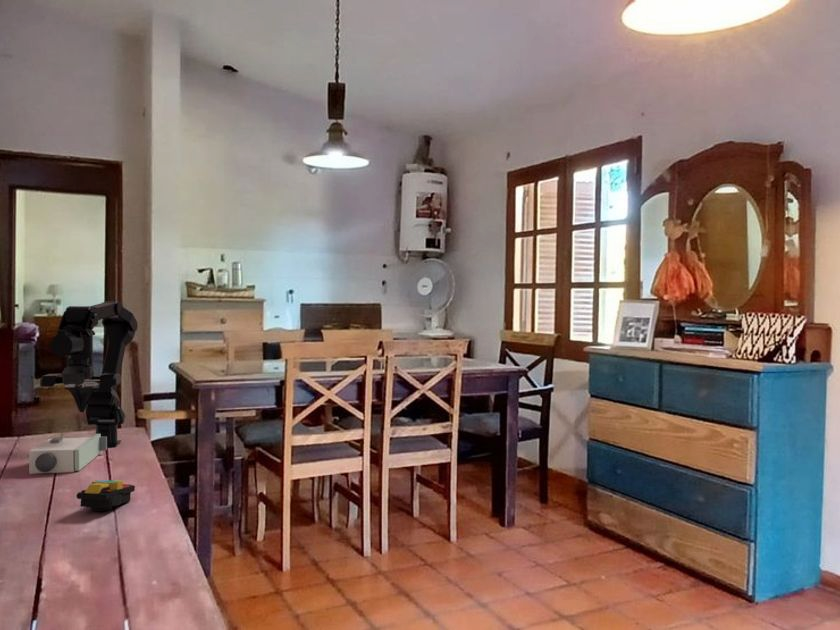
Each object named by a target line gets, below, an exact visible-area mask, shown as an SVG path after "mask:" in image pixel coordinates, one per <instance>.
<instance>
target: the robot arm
mask: <svg viewBox="0 0 840 630" xmlns="http://www.w3.org/2000/svg"><path fill="white" fill-rule="evenodd" d="M100 320H101V325H102V326H103V327H104V334H105V336H106V338H107V340H108V342H107V349H106V353H105V357H104V362H103V366H102V370H101V374H100V375H95V371H94V360H95V356H94V349H93V348H94V340H93V339H94V337H93V336H95V335H96V332H95V331H94V330H93V329H94V327H96V326H97V325H98V324H99V321H100ZM137 331H138V321H137V319H136V317H135V315H134V313H132V312H131V311H130V310H128V309H127V308H125V307H124V306H123V304H122V302H120V301H117V300H116V301H113V300H112V301H103V302H101V303H97V304H93V305H90V306H89V305H86V306H85V305H84V306H81V305H78V306H76V305H75V306H74V305H73V306H72V305H68V306H67V307H66V308H65V310H64V312H63V314H62V316H61V319H60V322H59V325H58V327H57V331H56V332H57V335H54V337H52V339H51V341H50V342H49V349H50V351H51V353H52V354H53V355H54V356H55V357H59V358H64V357H68V358H67V364H66V367H64V369H63V371H62V372H61V373H48V374H43V375H42V376H41V377H40V380H39V387H41V388H43V387H44V388H45V387H46V388H49V387H50V388H51V387H54V386H55V385H60V384H63V385H64V388H63V389H64V390H65V391H66V390H67V391H69V393H70V394H71V395H72V397H73V399H74V401H75V403H76V406H77V409H78V411H79V413H84V412H85V415H86V419H87V421H86V422H87V425H89V426H91V425H93V426H94V425H95V435H96V434H101V437H104V436H107V448H109V447H110V448H111V447H117V446H118V445H119V444H120V443H122V440H121V439H120V440H119V439H118V425H122V424H123V425H124V423H125V421H126V413H125V412H124V411H123V408H122V407H121V400H120V397H119V395H118V393H117V390H118V386H119V384H121V383H122V375H121V371H122V366H123V361H124V356H125V352H126V348H127V345H129V343H131V342H132V341H133V340H134V338H135V335H136V332H137ZM83 385H84V386H83ZM96 388H97V389H96ZM94 389H96V390H94Z"/></svg>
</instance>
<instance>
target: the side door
mask: <svg viewBox="0 0 840 630" xmlns="http://www.w3.org/2000/svg"><path fill="white" fill-rule="evenodd" d="M89 438H90V439H89V440H87V441H86V442H84V443H83V444H82V445H80V446H79V447H78V448H76V449H75V471H74V472H76V471H77V472H78V471H81V470H82V469H83V468H84V467H85V466H86V465H87V466H88V464H89V463H90V462H91V461H92V460H94V459H95V458H97V456H99V455H100V454H101V452H104V451H107V450H108V447H107V436H104V437H101V434H96V433H95V434H94V435H93V436H92V437H89Z"/></svg>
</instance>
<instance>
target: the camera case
mask: <svg viewBox="0 0 840 630" xmlns="http://www.w3.org/2000/svg"><path fill="white" fill-rule="evenodd" d="M90 438H91V437H70V438H69V437H68V438H67V437H66V438H63V437H53V438H49V439H46V440H45V441H44V442H42V443H40V444H39V445H37V446H35V447H34V448H32V449H30V450H29V451H28V457H29V458H28V461H29V462H28V465H29V467H28V468H29V470H28V472H29V475H30V474H31V475H32V474H33V475H34V474H56V473H59V474H60V473H74V472H76V471H75V449H76V448H78V447H79V446H80V445H82V444H83V443H84V442H86V441H87V440H89V439H90Z"/></svg>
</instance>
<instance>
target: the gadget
mask: <svg viewBox="0 0 840 630" xmlns="http://www.w3.org/2000/svg"><path fill="white" fill-rule="evenodd" d="M135 488H136V486H135V485H133V484H130V483H128V484H126V483H124V482H123V480H121V479H112V480H94V481H92V482H91V484H89V485H88V487H87V488H86V489H83V490H81V492H80V491H79V492H77V494H76V498H77V500H80V507H83V508H90V510H91V511H92V512H106V511H107V512H108V511H111V510H112V509H113V507H116V506H120V505H121V504H124V503H128V502H131V494H132V493H133V492H135V490H136V489H135Z"/></svg>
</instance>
